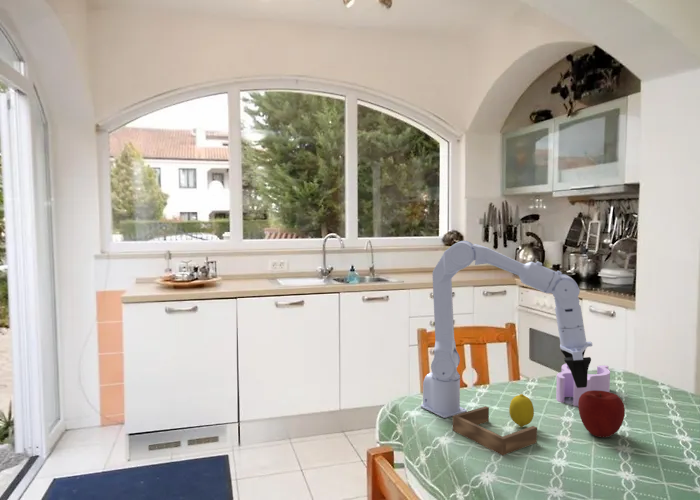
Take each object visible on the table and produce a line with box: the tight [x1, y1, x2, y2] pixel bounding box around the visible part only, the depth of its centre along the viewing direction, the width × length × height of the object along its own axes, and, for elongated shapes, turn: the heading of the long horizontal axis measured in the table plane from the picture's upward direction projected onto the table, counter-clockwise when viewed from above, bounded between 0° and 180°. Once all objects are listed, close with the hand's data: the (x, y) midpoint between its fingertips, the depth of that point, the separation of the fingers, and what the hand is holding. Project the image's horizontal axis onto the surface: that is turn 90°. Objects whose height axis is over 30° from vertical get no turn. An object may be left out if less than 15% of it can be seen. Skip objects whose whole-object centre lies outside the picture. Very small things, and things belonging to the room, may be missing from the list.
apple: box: [577, 390, 626, 438], centre depth 117 cm, size 10×10×10 cm
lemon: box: [508, 393, 535, 428], centre depth 121 cm, size 6×6×8 cm
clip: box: [555, 363, 611, 407], centre depth 143 cm, size 20×12×7 cm, turn 136°
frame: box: [452, 405, 538, 456], centre depth 116 cm, size 15×11×4 cm
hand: (579, 381), depth 122 cm, fingers open, 7 cm apart
